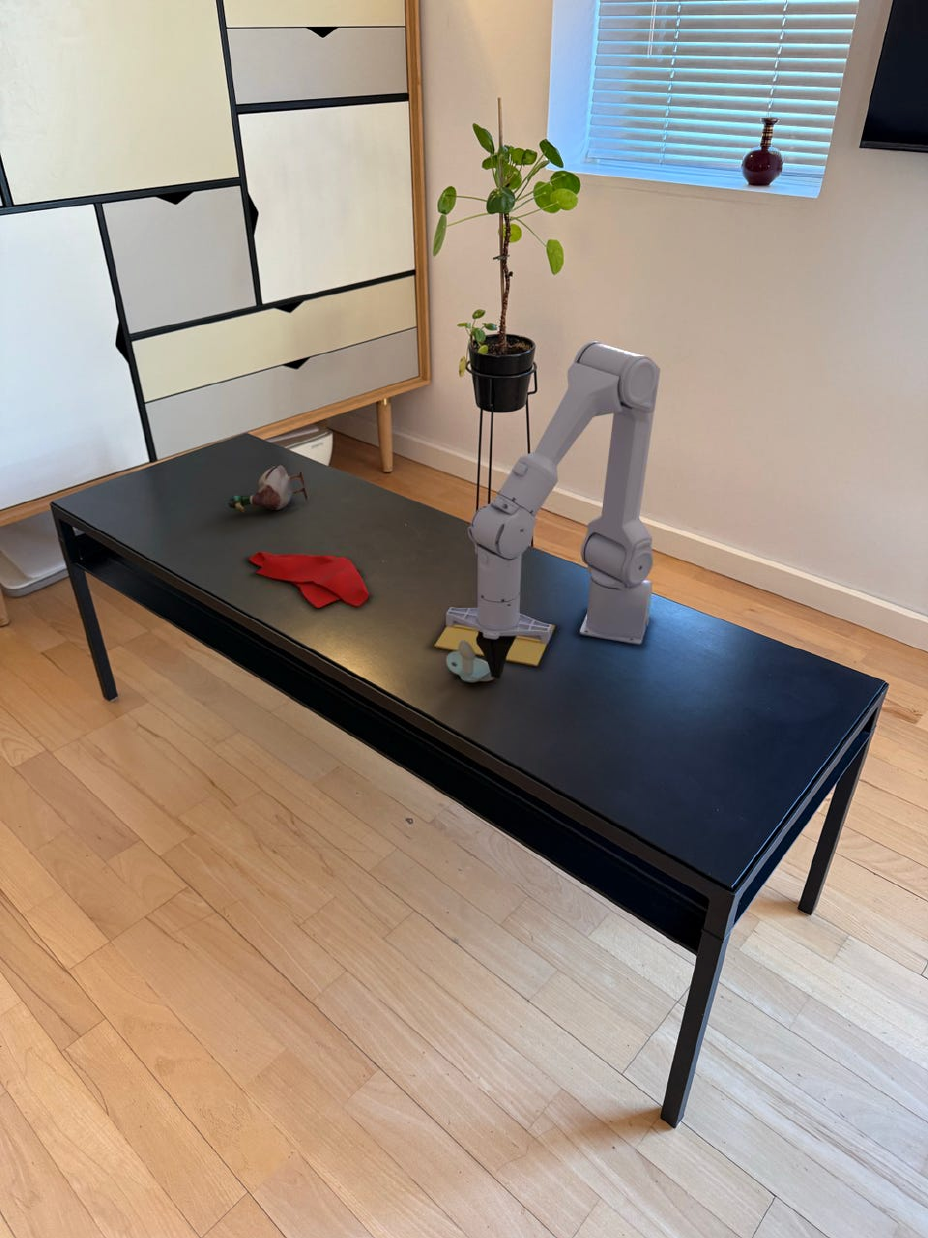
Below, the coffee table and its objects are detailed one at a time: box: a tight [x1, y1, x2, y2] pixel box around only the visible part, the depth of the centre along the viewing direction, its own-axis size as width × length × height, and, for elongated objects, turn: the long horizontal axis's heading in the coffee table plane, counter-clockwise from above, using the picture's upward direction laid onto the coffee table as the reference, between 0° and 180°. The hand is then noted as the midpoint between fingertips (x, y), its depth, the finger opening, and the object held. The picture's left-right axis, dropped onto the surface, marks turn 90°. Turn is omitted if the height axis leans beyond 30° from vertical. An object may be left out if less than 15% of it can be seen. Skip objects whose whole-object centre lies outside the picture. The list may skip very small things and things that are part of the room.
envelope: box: [433, 624, 556, 667], centre depth 136 cm, size 16×11×1 cm
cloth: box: [249, 551, 370, 609], centre depth 152 cm, size 26×14×2 cm, turn 45°
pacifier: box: [445, 640, 495, 683], centre depth 126 cm, size 7×6×6 cm
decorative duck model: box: [227, 464, 309, 513], centre depth 175 cm, size 15×8×15 cm
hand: (497, 674), depth 125 cm, fingers closed
